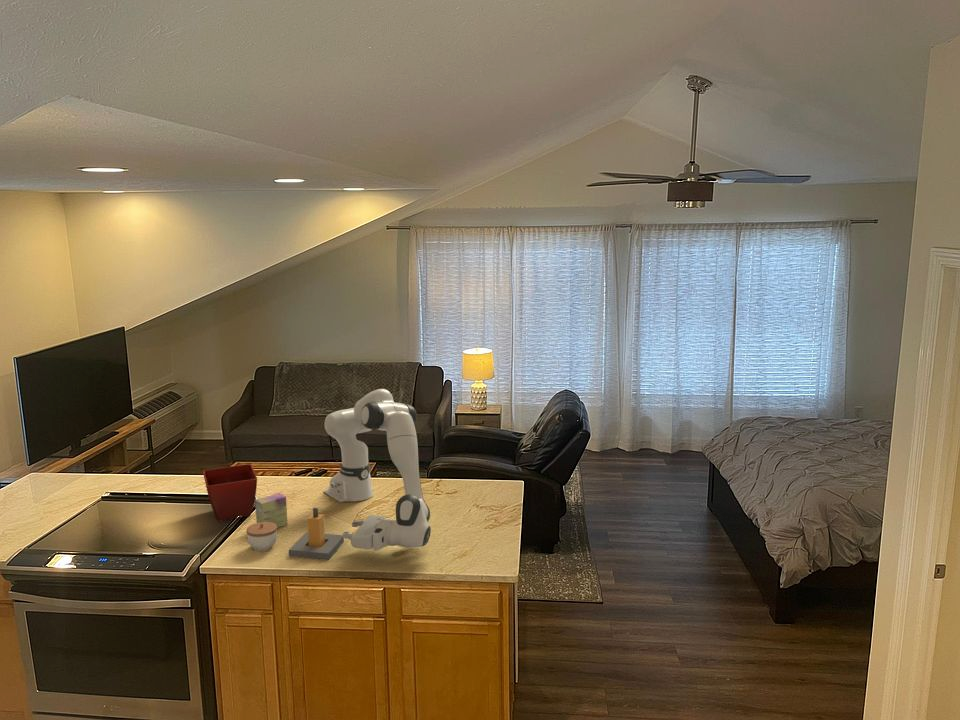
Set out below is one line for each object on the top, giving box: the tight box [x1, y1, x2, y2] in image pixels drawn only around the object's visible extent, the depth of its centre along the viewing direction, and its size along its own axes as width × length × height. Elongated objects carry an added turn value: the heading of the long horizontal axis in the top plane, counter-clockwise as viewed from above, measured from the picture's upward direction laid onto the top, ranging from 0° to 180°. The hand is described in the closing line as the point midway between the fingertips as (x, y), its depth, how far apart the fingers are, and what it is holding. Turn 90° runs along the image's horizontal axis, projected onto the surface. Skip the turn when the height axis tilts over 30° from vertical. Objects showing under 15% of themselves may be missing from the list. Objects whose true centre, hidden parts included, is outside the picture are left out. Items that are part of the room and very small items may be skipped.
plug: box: [307, 507, 326, 547], centre depth 265 cm, size 4×4×15 cm
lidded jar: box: [246, 522, 278, 552], centre depth 267 cm, size 11×11×9 cm
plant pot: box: [202, 463, 258, 521], centre depth 296 cm, size 19×19×17 cm
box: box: [254, 492, 288, 529], centre depth 284 cm, size 10×6×12 cm, turn 135°
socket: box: [288, 531, 345, 561], centre depth 266 cm, size 15×15×2 cm
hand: (347, 529), depth 263 cm, fingers open, 8 cm apart
